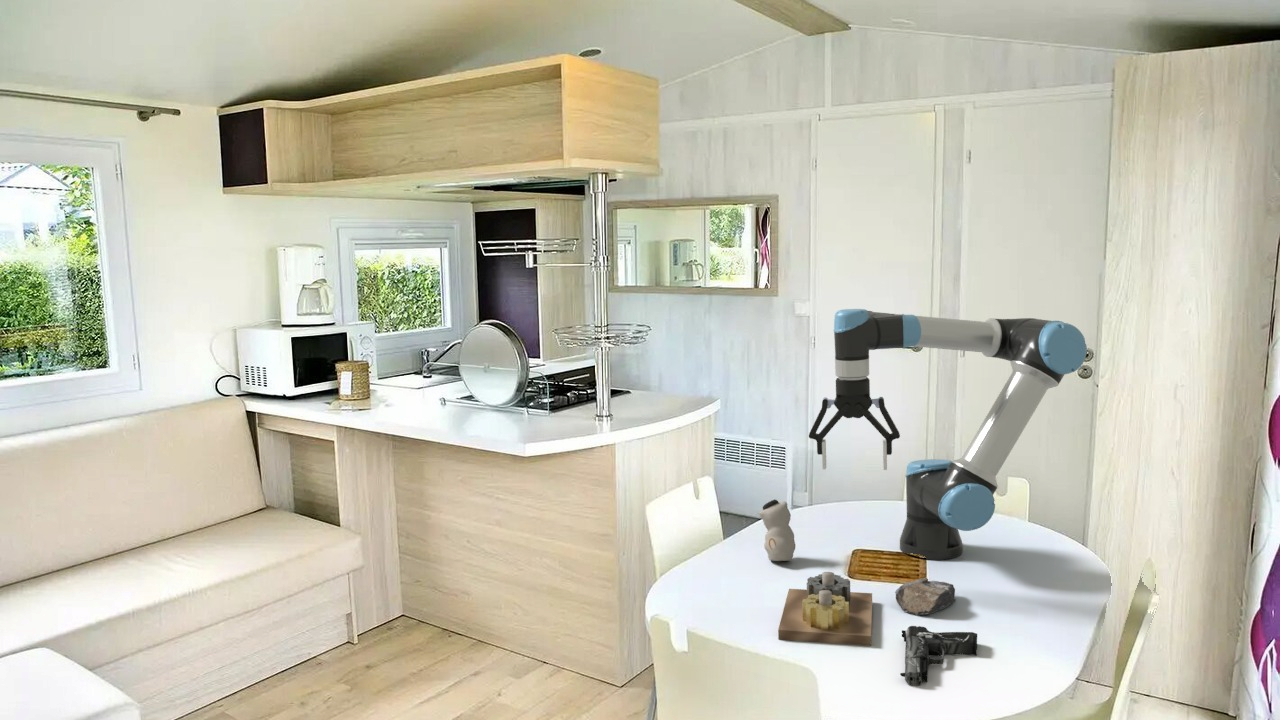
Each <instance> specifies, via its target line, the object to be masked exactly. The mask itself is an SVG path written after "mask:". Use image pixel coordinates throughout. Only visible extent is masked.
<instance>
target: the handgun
mask: <svg viewBox="0 0 1280 720" xmlns="http://www.w3.org/2000/svg"><path fill="white" fill-rule="evenodd" d="M901 637H902V638H903V642H905V654H904V655H905V656H904V665H905V666H904V668H905V669H904V672H900V673H899V675H900V676H901V677H902V678H904V681H905V683H906V685H909V686H914V687H915V686H921V685H922V683H923V682H925V683H928V673H929V672H928V671H929V670H928V669H929V666H930V665H943V664H944V662H945V656H947V655H971V656H972V655H973V656H977V655H978V653H977V652H978V651H977V650H978V633H975V632H973V631H967V632H966V631H952V632H951V631H946V632H945V631H944V632H934V631H931V630H930V631H929V630H928V628H926V626H920V625H919V626H917V625H910V626H908V627H907V629H906V630H903V629H902V630H901ZM932 656H933V657H934V656H935V657H940V658H932ZM922 681H923V682H922Z"/></svg>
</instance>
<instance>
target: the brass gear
mask: <svg viewBox="0 0 1280 720" xmlns="http://www.w3.org/2000/svg"><path fill="white" fill-rule="evenodd" d="M802 610H803V620H804V621H806V625H807V626H809V627H813V626H814V627H816V628H821V630H828V629H834V628H838V629H841V628H844V625H845V623H849V602H845V597H842V596H835V595H832V605H830V606H823V605H819V594H818V595H814V594H811V595H808V598H807V599H803V601H802Z"/></svg>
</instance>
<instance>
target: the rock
mask: <svg viewBox="0 0 1280 720" xmlns="http://www.w3.org/2000/svg"><path fill="white" fill-rule="evenodd" d="M894 593H895V600H896V603H897V604H898V606H899V607H900V609H901V610H902V612H903V611H904V612H906V613H909V614H912V615H922V616H923V615H928V614H934V613H936V612H939V611H941V610H943V609H945V608H947V607H949V606H950V605H952V604H953V603H954V602H956V598H955V597H956V596H955V595H956V594H955V593H956V588H955V586H954V584H952V583H949V582H947V581H938V580H929V579H928V578H925V577H924V578H922V577H921V578H918V579H916V580H912V581H906V582H905V583H903V584H901V585H900V586H899V587H898V588H897V589H896V590H895V592H894Z"/></svg>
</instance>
